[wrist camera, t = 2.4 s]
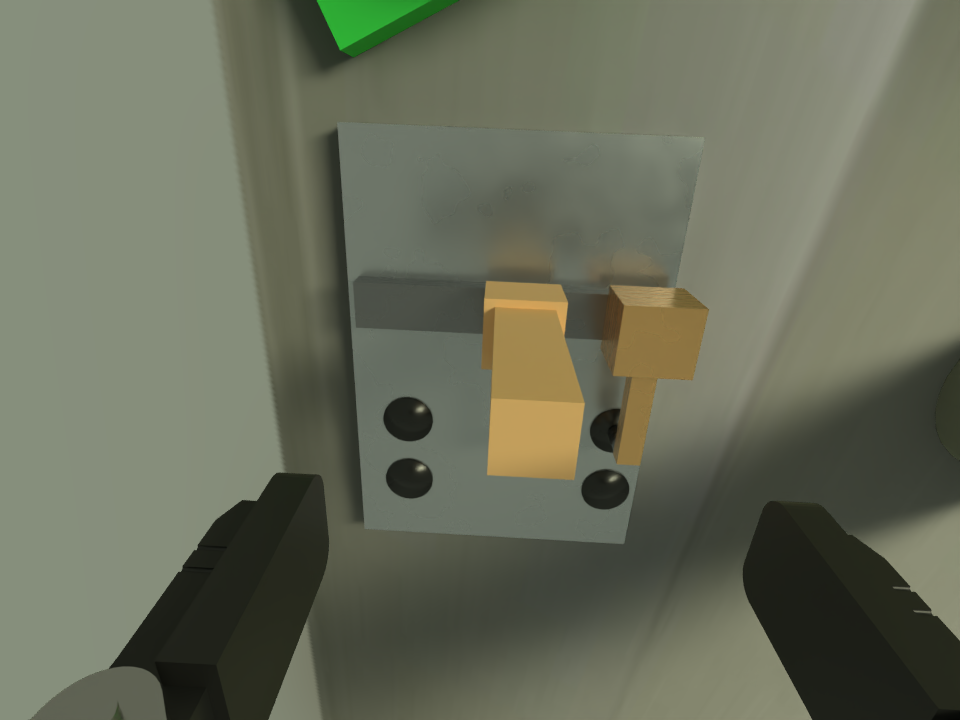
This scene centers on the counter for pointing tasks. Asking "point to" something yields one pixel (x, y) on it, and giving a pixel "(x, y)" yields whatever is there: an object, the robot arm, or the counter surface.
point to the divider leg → (530, 382)
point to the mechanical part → (374, 20)
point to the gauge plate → (460, 310)
